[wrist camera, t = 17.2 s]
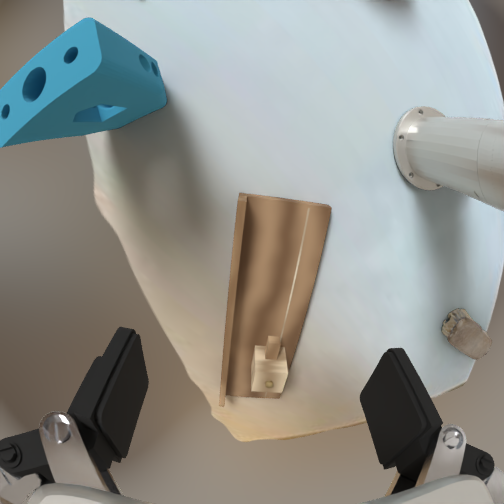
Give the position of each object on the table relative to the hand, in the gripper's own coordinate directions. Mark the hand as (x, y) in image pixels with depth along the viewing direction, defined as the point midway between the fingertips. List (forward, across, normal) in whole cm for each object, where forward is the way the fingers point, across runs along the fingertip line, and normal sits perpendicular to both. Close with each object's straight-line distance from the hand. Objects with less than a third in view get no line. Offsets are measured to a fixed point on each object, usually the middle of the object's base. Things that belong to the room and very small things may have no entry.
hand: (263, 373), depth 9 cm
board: (+28, -4, +19) cm, 34 cm away
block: (+28, +17, -12) cm, 35 cm away
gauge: (+27, -6, +26) cm, 38 cm away
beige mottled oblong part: (+29, -53, +22) cm, 64 cm away
